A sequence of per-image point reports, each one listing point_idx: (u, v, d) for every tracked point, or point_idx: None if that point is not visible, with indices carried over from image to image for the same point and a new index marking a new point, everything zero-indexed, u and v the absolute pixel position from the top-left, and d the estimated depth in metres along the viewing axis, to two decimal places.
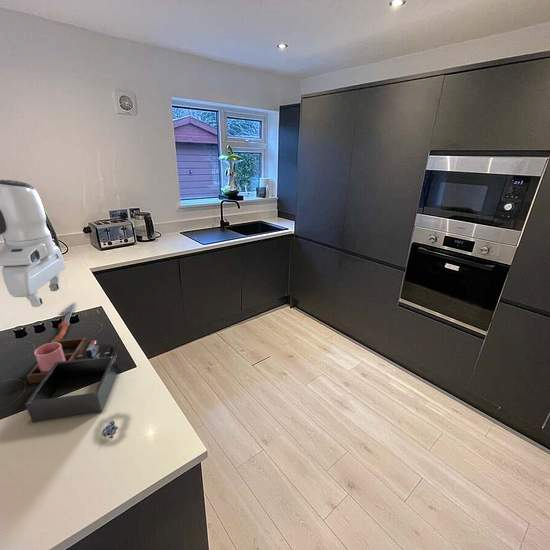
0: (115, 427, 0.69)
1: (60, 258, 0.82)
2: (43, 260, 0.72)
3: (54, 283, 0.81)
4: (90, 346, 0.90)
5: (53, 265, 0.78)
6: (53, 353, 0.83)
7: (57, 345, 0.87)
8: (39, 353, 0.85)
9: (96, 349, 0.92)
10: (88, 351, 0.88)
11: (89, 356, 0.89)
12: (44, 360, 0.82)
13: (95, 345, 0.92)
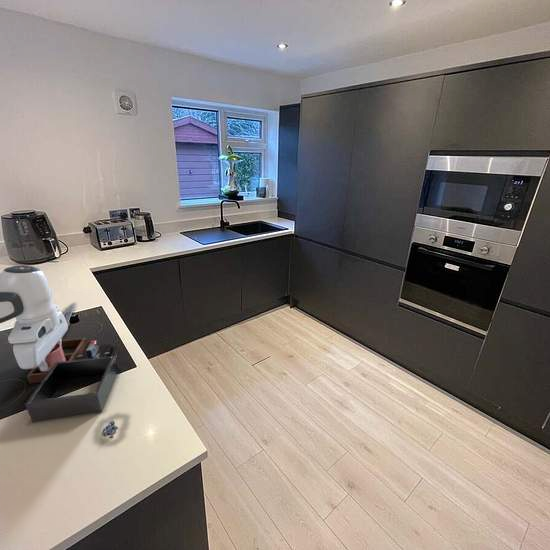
0: (115, 427, 0.69)
1: (63, 322, 0.91)
2: (49, 331, 0.81)
3: None
4: (90, 346, 0.90)
5: (57, 331, 0.87)
6: (53, 353, 0.83)
7: (57, 345, 0.87)
8: None
9: (96, 349, 0.92)
10: (88, 351, 0.88)
11: (89, 356, 0.89)
12: None
13: (95, 345, 0.92)
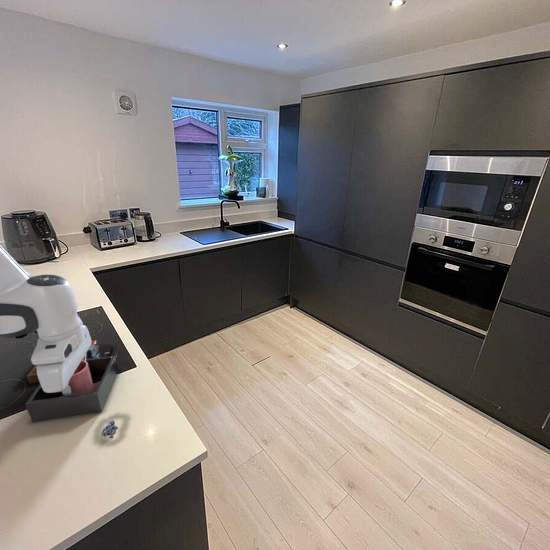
0: (115, 427, 0.69)
1: (87, 336, 0.82)
2: (74, 349, 0.72)
3: None
4: (90, 346, 0.90)
5: (82, 347, 0.78)
6: (80, 373, 0.75)
7: (83, 363, 0.79)
8: None
9: (96, 349, 0.92)
10: (88, 351, 0.88)
11: (89, 356, 0.89)
12: (70, 381, 0.74)
13: (95, 345, 0.92)
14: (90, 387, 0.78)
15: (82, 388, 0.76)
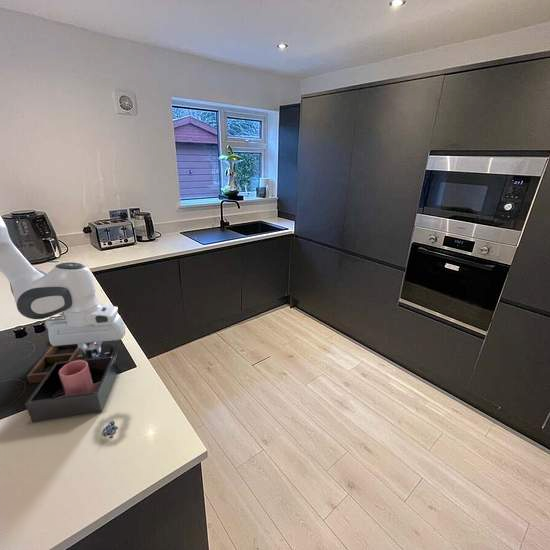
0: (115, 427, 0.69)
1: None
2: None
3: (86, 347, 0.90)
4: (90, 346, 0.90)
5: None
6: (80, 373, 0.75)
7: (83, 363, 0.79)
8: (64, 373, 0.76)
9: None
10: (88, 351, 0.88)
11: (89, 356, 0.89)
12: (70, 381, 0.74)
13: (95, 345, 0.92)
14: (90, 387, 0.78)
15: (82, 388, 0.76)
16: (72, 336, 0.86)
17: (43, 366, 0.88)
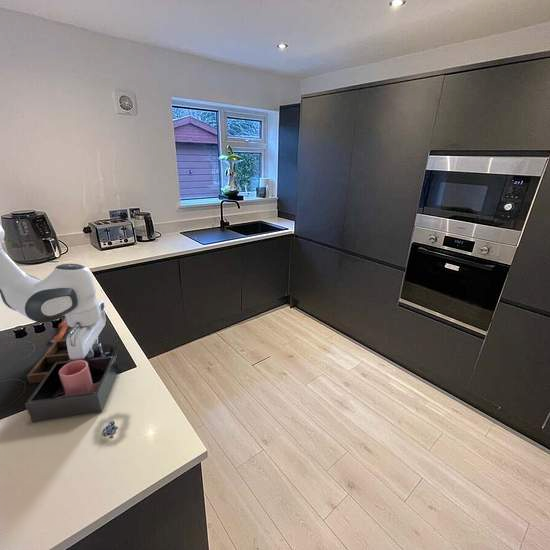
0: (115, 427, 0.69)
1: None
2: None
3: None
4: (93, 345, 0.90)
5: None
6: (80, 373, 0.75)
7: (83, 363, 0.79)
8: (64, 373, 0.76)
9: None
10: (100, 345, 0.91)
11: (101, 350, 0.92)
12: (70, 381, 0.74)
13: None
14: (90, 387, 0.78)
15: (82, 388, 0.76)
16: (90, 339, 0.86)
17: (43, 366, 0.88)
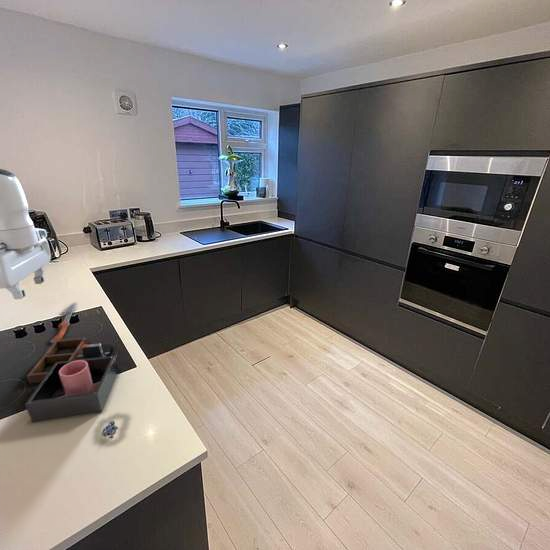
0: (115, 427, 0.69)
1: None
2: None
3: None
4: (93, 345, 0.90)
5: None
6: (80, 373, 0.75)
7: (83, 363, 0.79)
8: (64, 373, 0.76)
9: None
10: (100, 345, 0.91)
11: (101, 350, 0.92)
12: (70, 381, 0.74)
13: None
14: (90, 387, 0.78)
15: (82, 388, 0.76)
16: (21, 267, 0.69)
17: (43, 366, 0.88)
